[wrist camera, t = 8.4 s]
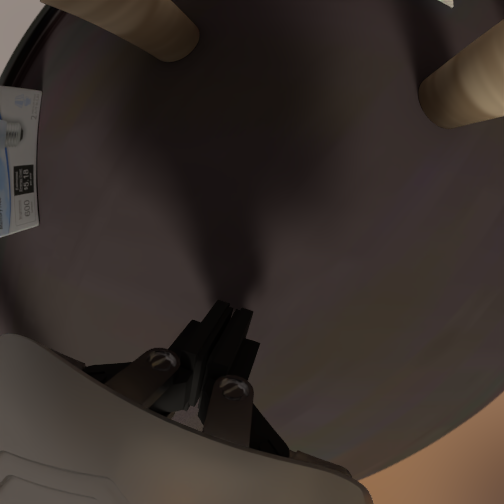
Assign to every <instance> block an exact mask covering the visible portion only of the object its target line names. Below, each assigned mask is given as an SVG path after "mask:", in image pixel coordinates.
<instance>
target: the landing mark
mask: <svg viewBox="0 0 504 504" xmlns="http://www.w3.org/2000/svg"><path fill="white" fill-rule="evenodd" d="M439 1H440V2H442V3H444V4H446V5H448V6H450V7H452V8H453V0H439Z"/></svg>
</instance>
